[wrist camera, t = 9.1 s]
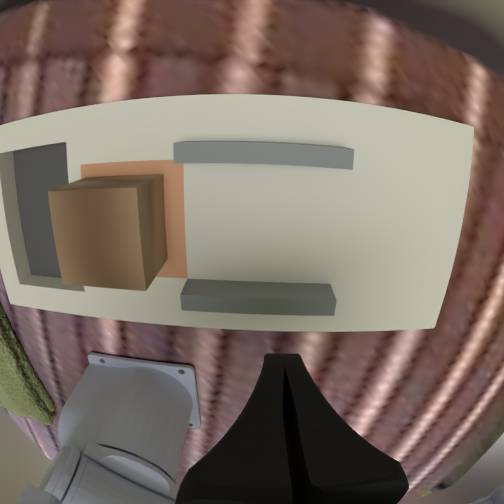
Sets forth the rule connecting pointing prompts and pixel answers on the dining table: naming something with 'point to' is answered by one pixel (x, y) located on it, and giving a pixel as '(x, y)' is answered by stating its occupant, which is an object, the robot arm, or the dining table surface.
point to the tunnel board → (251, 210)
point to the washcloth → (20, 379)
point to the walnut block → (110, 230)
